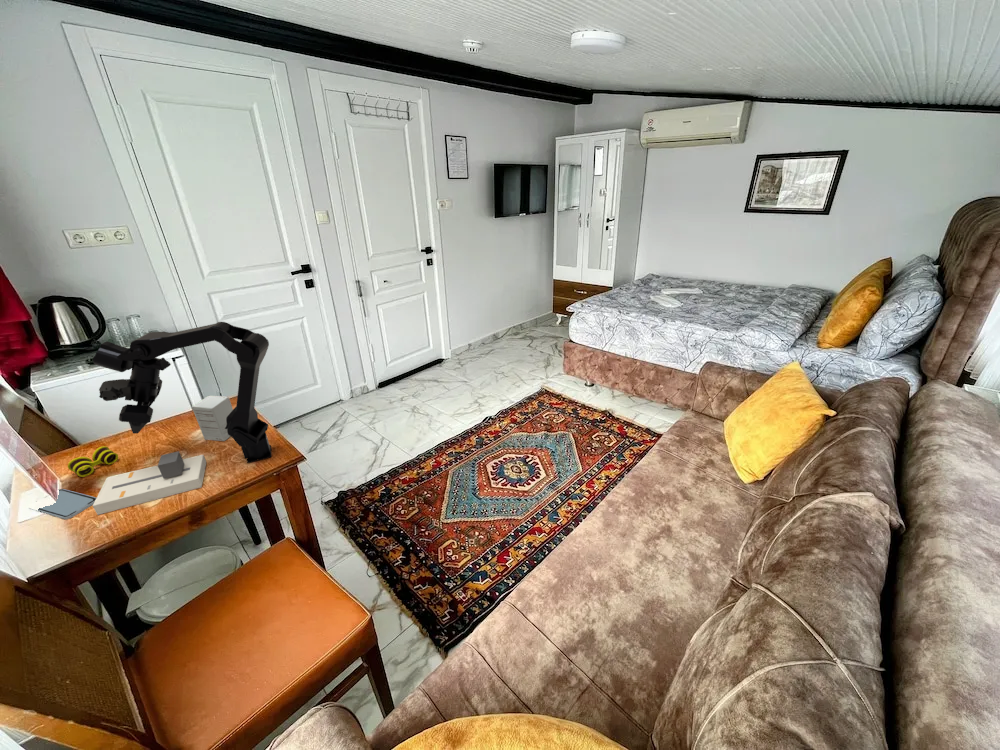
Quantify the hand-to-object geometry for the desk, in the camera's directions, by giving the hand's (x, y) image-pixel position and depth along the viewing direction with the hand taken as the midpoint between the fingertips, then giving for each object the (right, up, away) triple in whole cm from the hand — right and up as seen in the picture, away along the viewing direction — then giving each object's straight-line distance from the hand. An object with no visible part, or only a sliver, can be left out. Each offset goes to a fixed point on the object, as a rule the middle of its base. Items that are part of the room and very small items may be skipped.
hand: (139, 422), depth 115 cm
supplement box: (+11, -6, +19) cm, 23 cm away
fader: (+12, -13, -3) cm, 18 cm away
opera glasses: (-16, -14, +4) cm, 21 cm away
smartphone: (-11, -21, -9) cm, 25 cm away
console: (+8, -17, -3) cm, 19 cm away
